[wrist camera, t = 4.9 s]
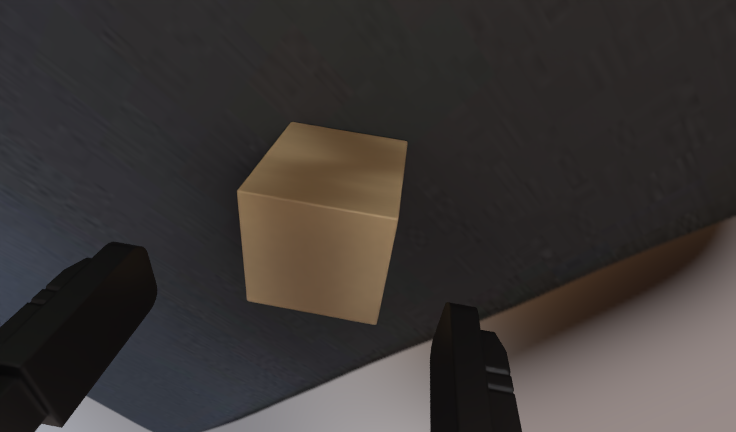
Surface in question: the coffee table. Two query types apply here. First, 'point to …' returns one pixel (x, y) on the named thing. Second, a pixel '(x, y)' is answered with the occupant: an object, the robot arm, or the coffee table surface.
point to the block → (322, 221)
